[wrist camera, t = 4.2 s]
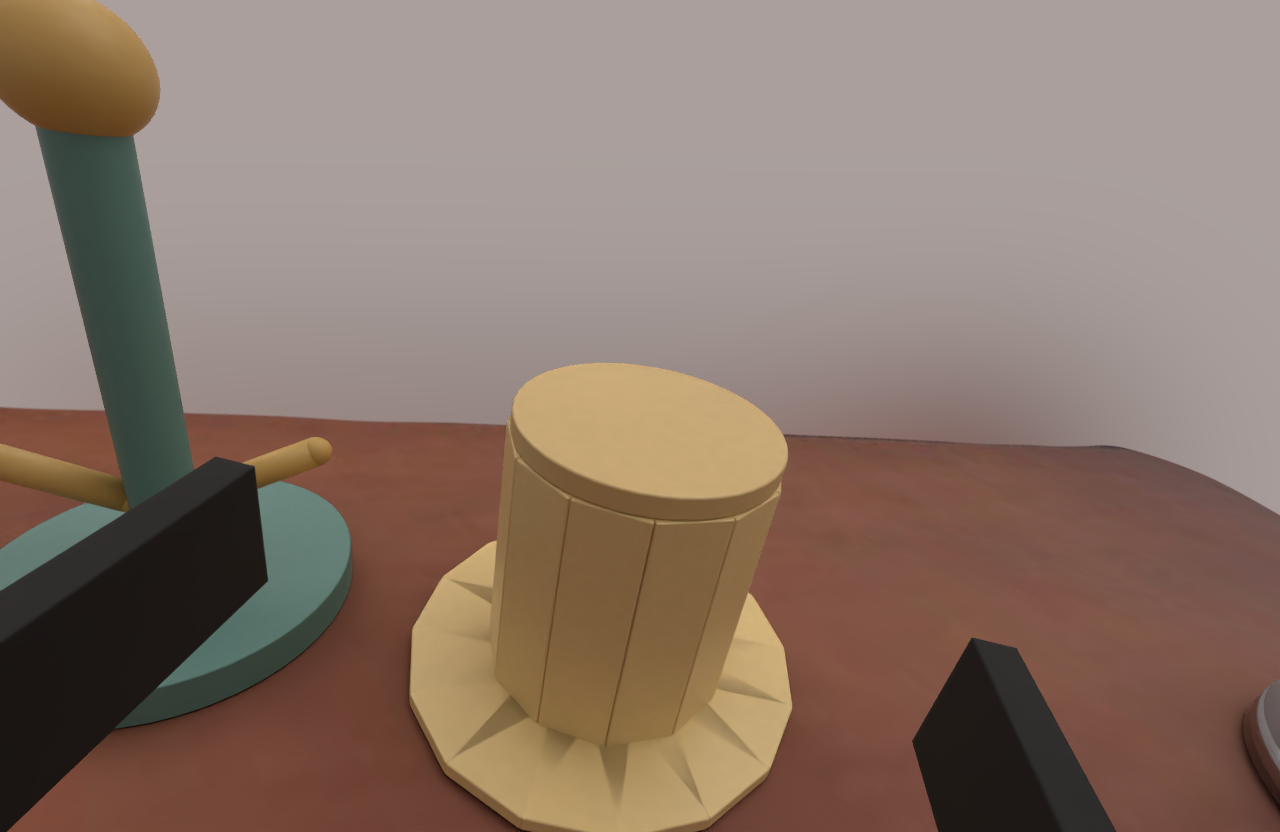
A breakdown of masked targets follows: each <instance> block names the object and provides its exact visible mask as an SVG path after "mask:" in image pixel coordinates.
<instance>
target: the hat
mask: <svg viewBox="0 0 1280 832" xmlns="http://www.w3.org/2000/svg"><path fill="white" fill-rule="evenodd" d="M787 460H788V449H787V444H786V441H785V438H784V436H783V434H782V433H781V431H780V430H779V428H778V427H777V426H776V425H775V423H774V422H773V421H772V420H771V419H770V418H769V417H768V416H767V415H766V414H765V413H763V412H762V411H761V410H759V409H758V408H757V407H756V406H754V405H752V404H751V403H750V402H748V401H746V400H745V399H743V398H741V397H740V396H738V395H736V394H734V393H732V392H730V391H728V390H726V389H723V388H721V387H719V386H717V385H714V384H712V383H709V382H707V381H704V380H701V379H698V378H695V377H692V376H689V375H685V374H682V373H678V372H674V371H670V370H665V369H661V368H655V367H649V366H642V365H634V364H622V363H589V364H579V365H572V366H567V367H562V368H558V369H554V370H551V371H548V372H545V373H543V374H540V375H538V376H536V377H535V378H533V379H531V380H530V381H528V382H527V383H526V384H524V385H523V386H522V388H521V389H520V390H519V391H518V392H517V394H516V396H515V398H514V400H513V405H512V411H511V416H510V417H509V418H508V421H507V426H506V438H505V450H504V462H503V474H502V486H501V497H500V509H499V521H498V533H497V540H496V541H493V542H490V543H488V544H486V545H485V546H484V547H482V548H481V549H480V550H478V551H477V552H476V553H474V554H473V555H471V556H470V557H469V558H467V559H466V560H465V561H463V562H462V563H461V564H459V565H458V566H457V567H455V568H454V569H452V570H451V571H450V572H448V573H447V574H446V575H444V576H443V577H442V579H441V580H440V582H439V584H438V585H437V587H436V589H435V591H434V592H433V594H432V596H431V597H430V599H429V601H428V603H427V604H426V606H425V608H424V609H423V611H422V613H421V615H420V616H419V618H418V620H417V621H416V623H415V625H414V626H413V629H412V641H411V667H410V693H409V702H410V706H411V708H412V710H413V712H414V714H415V716H416V718H417V720H418V722H419V724H420V726H421V728H422V730H423V732H424V734H425V736H426V738H427V740H428V742H429V744H430V746H431V748H432V750H433V752H434V754H435V756H436V758H437V760H438V762H439V764H440V766H441V768H442V770H443V771H444V773H445V774H446V775H447V776H448V777H450V778H451V779H452V780H454V781H455V782H457V783H458V784H459V785H461V786H462V787H463V788H465V789H466V790H467V791H469V792H470V793H471V794H473V795H474V796H475V797H477V798H478V799H480V800H481V801H482V802H484V803H485V804H486V805H488V806H489V807H490V808H492V809H493V810H494V811H496V812H497V813H498V814H500V815H501V816H503V817H504V818H505V819H507V820H508V821H509V822H511V823H512V824H513V825H515V826H516V827H517V828H520V829H522V830H526V831H531V832H696V831H700V830H704V829H706V828H708V827H710V826H711V825H712V824H713V823H714V822H715V821H717V820H718V819H719V818H720V817H721V816H723V815H724V814H725V813H726V812H727V811H728V810H730V809H731V808H732V807H733V806H734V805H736V804H737V803H738V802H739V801H740V800H741V799H743V798H744V797H745V796H746V795H747V794H749V793H750V792H751V791H752V790H753V789H754V788H756V787H757V786H758V785H759V784H760V783H762V782H763V781H764V780H765V779H766V778H767V776H768V773H769V771H770V769H771V766H772V763H773V761H774V758H775V755H776V752H777V750H778V747H779V744H780V741H781V739H782V736H783V733H784V730H785V728H786V725H787V722H788V719H789V717H790V714H791V711H792V700H791V693H790V687H789V680H788V673H787V666H786V659H785V652H784V648H783V645H782V643H781V642H780V640H779V638H778V637H777V635H776V634H775V632H774V630H773V629H772V627H771V625H770V624H769V622H768V620H767V619H766V617H765V615H764V614H763V612H762V611H761V609H760V607H759V606H758V604H757V602H756V601H755V599H754V598H753V596H752V595H751V594H749V593H748V591H749V588H750V585H751V582H752V579H753V576H754V573H755V570H756V567H757V564H758V561H759V558H760V555H761V552H762V549H763V546H764V543H765V540H766V537H767V534H768V531H769V528H770V525H771V522H772V519H773V516H774V513H775V510H776V507H777V504H778V501H779V498H780V495H781V480H782V477H783V474H784V471H785V468H786V465H787Z"/></svg>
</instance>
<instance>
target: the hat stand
mask: <svg viewBox="0 0 1280 832" xmlns="http://www.w3.org/2000/svg"><path fill="white" fill-rule="evenodd" d="M0 99H1V100H2V101H3V102H4V103H5V104H6V105H7V106H8V107H9V108H10V109H12V110H13V111H14V112H16V113H17V114H18V115H19V116H21V117H22V118H24V119H25V120H27V121H28V122H30V123H32V124H33V125H35V127H36V130H37V135H38V139H39V143H40V147H41V151H42V155H43V159H44V163H45V167H46V171H47V175H48V180H49V183H50V188H51V192H52V196H53V199H54V204H55V208H56V212H57V216H58V220H59V224H60V228H61V232H62V236H63V241H64V245H65V249H66V253H67V257H68V261H69V265H70V269H71V273H72V277H73V282H74V286H75V290H76V294H77V298H78V302H79V306H80V310H81V314H82V318H83V322H84V326H85V330H86V334H87V339H88V342H89V347H90V350H91V355H92V359H93V363H94V367H95V371H96V375H97V379H98V383H99V387H100V391H101V395H102V400H103V404H104V408H105V412H106V416H107V420H108V424H109V428H110V432H111V436H112V440H113V444H114V449H115V453H116V457H117V461H118V465H119V469H120V473H121V477H122V478H121V477H117V476H114V475H110V474H107V473H103V472H100V471H96V470H92V469H89V468H85V467H82V466H78V465H75V464H71V463H68V462H64V461H61V460H57V459H54V458H50V457H47V456H43V455H40V454H36V453H32V452H29V451H25V450H22V449H18V448H15V447H11V446H8V445H4V444H1V443H0V480H1V481H5V482H9V483H12V484H16V485H20V486H24V487H28V488H32V489H36V490H39V491H43V492H47V493H51V494H55V495H59V496H62V497H66V498H70V499H74V500H78V501H82V502H85V504H83V505H80V506H78V507H75V508H73V509H70V510H68V511H66V512H64V513H61V514H59V515H57V516H55V517H53V518H51V519H49V520H47V521H45V522H43V523H41V524H39V525H38V526H36V527H34V528H32V529H30V530H29V531H27V532H25V533H24V534H22V535H21V536H19V537H18V538H16V539H15V540H13V541H11V542H10V543H8V544H7V545H6V546H4V547H3V548H2V549H1V550H0V591H1V590H3V589H4V588H6V587H7V586H9V585H11V584H12V583H14V582H15V581H17V580H19V579H20V578H22V577H23V576H25V575H27V574H28V573H30V572H31V571H33V570H35V569H36V568H38V567H39V566H41V565H43V564H44V563H46V562H47V561H49V560H51V559H52V558H54V557H55V556H57V555H59V554H60V553H62V552H64V551H65V550H67V549H68V548H70V547H72V546H73V545H75V544H76V543H78V542H80V541H81V540H83V539H84V538H86V537H88V536H89V535H91V534H92V533H94V532H96V531H97V530H99V529H100V528H102V527H104V526H105V525H107V524H108V523H110V522H112V521H113V520H115V519H116V518H118V517H120V516H121V515H123V514H125V513H126V512H128V511H129V510H131V509H133V508H134V507H136V506H137V505H139V504H141V503H142V502H144V501H145V500H147V499H149V498H150V497H152V496H153V495H155V494H157V493H158V492H160V491H161V490H163V489H165V488H166V487H168V486H169V485H171V484H173V483H174V482H176V481H177V480H179V479H181V478H182V477H184V476H186V475H187V474H189V473H190V472H192V471H194V468H193V462H192V457H191V451H190V446H189V440H188V435H187V429H186V424H185V418H184V413H183V407H182V402H181V396H180V391H179V386H178V380H177V374H176V369H175V364H174V358H173V352H172V347H171V341H170V336H169V330H168V325H167V319H166V314H165V309H164V303H163V297H162V292H161V287H160V281H159V275H158V270H157V264H156V259H155V253H154V248H153V242H152V237H151V231H150V225H149V220H148V214H147V209H146V203H145V198H144V192H143V187H142V182H141V176H140V170H139V165H138V159H137V154H136V150H135V149H136V148H135V143H134V137H133V135H134V134H136V133H137V132H139V131H140V130H141V129H143V128H144V127H145V126H146V125H147V124H148V123H149V122H150V120H151V119H152V117H153V116H154V114H155V112H156V110H157V107H158V103H159V99H160V83H159V77H158V73H157V69H156V67H155V64H154V61H153V59H152V57H151V55H150V53H149V51H148V50H147V48H146V47H145V45H144V43H143V42H142V40H141V39H140V38H139V37H138V35H137V34H136V33H135V32H134V31H133V30H132V29H131V28H130V26H128V24H127V23H126V22H124V21H123V20H122V19H121V18H120V17H118V16H117V15H116V14H115V13H114V12H112V11H111V10H109V9H108V8H107V7H105V6H104V5H102V4H100V3H99V2H97V1H95V0H0ZM331 455H332V448H331V445H330V444H329V443H328V442H327V441H326V440H325V439H323V438H319V437H312V438H309V439H306V440H303V441H300V442H298V443H295V444H292V445H289V446H287V447H284V448H281V449H279V450H276V451H273V452H270V453H268V454H265V455H262V456H259V457H257V458H254V459H251V460H248V461H246V462H243V464H248V465H252V466H255V473H256V481H257V490H258V498H259V507H260V515H261V523H262V532H263V540H264V549H265V557H266V566H267V574H268V582H267V583H266V584H265V585H263V586H262V587H261V588H260V589H259V590H258V591H257V592H256V593H255V594H254V595H253V596H252V597H251V598H250V599H249V600H248V601H247V602H246V603H245V604H244V605H243V606H242V607H241V608H239V609H238V610H237V611H236V612H235V613H234V614H233V615H232V616H231V617H230V618H229V619H228V620H227V621H226V622H225V623H224V624H223V625H222V626H221V627H220V628H219V629H218V630H217V631H215V632H214V633H213V634H212V635H211V636H210V637H209V638H208V639H207V640H206V641H205V642H204V643H203V644H202V645H201V646H200V647H199V648H198V649H197V650H196V651H195V652H194V653H193V654H191V655H190V656H189V657H188V658H187V659H186V660H185V661H184V662H183V663H182V664H181V665H180V666H179V667H178V668H177V669H176V670H175V671H174V672H173V673H172V674H171V675H170V676H169V677H167V678H166V679H165V680H164V681H163V682H162V683H161V684H160V685H159V686H158V687H157V688H156V689H155V690H154V691H153V692H152V693H151V694H150V695H149V696H148V697H147V698H146V699H145V700H143V701H142V702H141V703H140V704H139V705H138V706H137V707H136V708H135V709H134V710H133V711H132V712H131V713H130V714H129V715H128V716H127V717H126V718H125V719H124V720H123V721H122V722H121V723H119V724H118V725H117V726H116V727H115V728H114V729H116V728H123V727H129V726H135V725H141V724H147V723H152V722H156V721H160V720H164V719H168V718H172V717H175V716H179V715H182V714H185V713H188V712H191V711H194V710H197V709H200V708H203V707H206V706H209V705H211V704H214V703H216V702H218V701H221V700H223V699H225V698H228V697H230V696H232V695H235V694H237V693H239V692H241V691H243V690H245V689H247V688H249V687H250V686H252V685H254V684H256V683H258V682H260V681H262V680H263V679H265V678H267V677H268V676H270V675H271V674H273V673H274V672H276V671H278V670H279V669H281V668H282V667H284V666H285V665H287V664H288V663H289V662H291V661H292V660H293V659H294V658H296V657H297V656H298V655H300V654H301V653H302V652H304V651H305V650H306V649H307V648H308V647H309V646H310V645H311V644H312V643H313V642H314V641H315V640H316V639H317V638H318V637H319V636H320V635H321V634H322V633H323V632H324V631H325V629H326V628H327V627H328V626H329V625H330V624H331V622H332V621H333V620H334V618H335V616H336V615H337V613H338V612H339V610H340V609H341V607H342V605H343V603H344V601H345V599H346V597H347V594H348V592H349V588H350V584H351V580H352V550H351V539H350V533H349V529H348V527H347V525H346V522H345V520H344V519H343V517H342V516H341V515H340V513H339V512H338V511H337V510H336V509H335V508H334V507H333V506H332V505H331V504H330V503H329V502H328V501H326V500H325V499H323V498H322V497H320V496H319V495H317V494H315V493H313V492H311V491H309V490H307V489H304V488H301V487H298V486H295V485H293V484H289V483H285V482H281V480H283V479H286V478H289V477H291V476H294V475H297V474H300V473H302V472H305V471H308V470H310V469H313V468H316V467H318V466H321V465H323V464H325V463H326V462H327V461H328V460H329V459H330V457H331Z"/></svg>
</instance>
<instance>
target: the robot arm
mask: <svg viewBox="0 0 1280 832" xmlns="http://www.w3.org/2000/svg"><path fill="white" fill-rule="evenodd" d="M267 582H268V574H267V566H266V557H265V549H264V540H263V532H262V523H261V515H260V507H259V498H258V490H257V481H256V473H255V466H252V465H248V464H243V463H239V462H235V461H231V460H227V459H223V458H218V457H214V458H213V459H211V460H210V461H208V462H206V463H205V464H203V465H202V466H200V467H198V468H197V469H195V470H194V471H192V472H190V473H189V474H187V475H186V476H184V477H182V478H181V479H179V480H177V481H176V482H174V483H173V484H171V485H169V486H168V487H166V488H165V489H163V490H161V491H160V492H158V493H157V494H155V495H153V496H152V497H150V498H149V499H147V500H145V501H144V502H142V503H141V504H139V505H137V506H136V507H134V508H133V509H131V510H129V511H128V512H126V513H125V514H123V515H121V516H120V517H118V518H116V519H115V520H113V521H112V522H110V523H108V524H107V525H105V526H104V527H102V528H100V529H99V530H97V531H96V532H94V533H92V534H91V535H89V536H88V537H86V538H84V539H83V540H81V541H80V542H78V543H76V544H75V545H73V546H72V547H70V548H68V549H67V550H65V551H64V552H62V553H60V554H59V555H57V556H55V557H54V558H52V559H51V560H49V561H47V562H46V563H44V564H43V565H41V566H39V567H38V568H36V569H35V570H33V571H31V572H30V573H28V574H27V575H25V576H23V577H22V578H20V579H19V580H17V581H15V582H14V583H12V584H11V585H9V586H7V587H6V588H4V589H3V590H1V591H0V832H7V831H8V830H9V829H10V828H11V827H12V826H13V825H14V824H15V823H16V822H17V821H18V820H19V819H20V818H21V817H22V816H24V815H25V814H26V813H27V812H28V811H29V810H30V809H31V808H32V807H33V806H34V805H35V804H36V803H37V802H38V801H39V800H40V799H41V798H42V797H43V796H44V795H45V794H46V793H47V792H49V791H50V790H51V789H52V788H53V787H54V786H55V785H56V784H57V783H58V782H59V781H60V780H61V779H62V778H63V777H64V776H65V775H66V774H67V773H68V772H69V771H70V770H71V769H73V768H74V767H75V766H76V765H77V764H78V763H79V762H80V761H81V760H82V759H83V758H84V757H85V756H86V755H87V754H88V753H89V752H90V751H91V750H92V749H93V748H94V747H95V746H97V745H98V744H99V743H100V742H101V741H102V740H103V739H104V738H105V737H106V736H107V735H108V734H109V733H110V732H111V731H112V730H113V729H114V728H115V727H116V726H117V725H118V724H119V723H121V722H122V721H123V720H124V719H125V718H126V717H127V716H128V715H129V714H130V713H131V712H132V711H133V710H134V709H135V708H136V707H137V706H138V705H139V704H140V703H141V702H142V701H143V700H145V699H146V698H147V697H148V696H149V695H150V694H151V693H152V692H153V691H154V690H155V689H156V688H157V687H158V686H159V685H160V684H161V683H162V682H163V681H164V680H165V679H166V678H167V677H169V676H170V675H171V674H172V673H173V672H174V671H175V670H176V669H177V668H178V667H179V666H180V665H181V664H182V663H183V662H184V661H185V660H186V659H187V658H188V657H189V656H190V655H191V654H193V653H194V652H195V651H196V650H197V649H198V648H199V647H200V646H201V645H202V644H203V643H204V642H205V641H206V640H207V639H208V638H209V637H210V636H211V635H212V634H213V633H214V632H215V631H217V630H218V629H219V628H220V627H221V626H222V625H223V624H224V623H225V622H226V621H227V620H228V619H229V618H230V617H231V616H232V615H233V614H234V613H235V612H236V611H237V610H238V609H239V608H241V607H242V606H243V605H244V604H245V603H246V602H247V601H248V600H249V599H250V598H251V597H252V596H253V595H254V594H255V593H256V592H257V591H258V590H259V589H260V588H261V587H262V586H263V585H265V584H266V583H267ZM1243 734H1244V739H1245V743H1246V747H1247V749H1248V752H1249V754H1250V757H1251V759H1252V761H1253V763H1254V765H1255V767H1256V769H1257V771H1258V773H1259V775H1260V776H1261V778H1262V780H1263V781H1264V783H1265V785H1266V786H1267V788H1268V789H1269V791H1270V792H1271V794H1272V795H1273V797H1274V798H1275V799H1276V801H1277V802H1278V804H1279V805H1280V678H1279V679H1278V680H1276V681H1275V682H1273V683H1271V684H1270V685H1269V686H1268V687H1267V688H1266V689H1265V690H1264V692H1263V693H1262V694H1261V695H1260V696H1259V697H1258V698H1257V699H1256V700H1255V701H1254V702H1253V704H1252V705H1251V706H1250V707H1249V708H1248V709H1247V711H1246V713H1245V715H1244V720H1243ZM912 742H913V746H914V749H915V753H916V756H917V759H918V763H919V766H920V770H921V773H922V777H923V780H924V784H925V787H926V791H927V794H928V797H929V801H930V804H931V808H932V811H933V815H934V818H935V822H936V825H937V829H938V832H1116V830H1115V829H1114V827H1113V825H1112V823H1111V821H1110V819H1109V818H1108V816H1107V814H1106V812H1105V810H1104V808H1103V806H1102V805H1101V803H1100V801H1099V799H1098V797H1097V795H1096V794H1095V792H1094V790H1093V788H1092V786H1091V784H1090V783H1089V781H1088V779H1087V777H1086V775H1085V773H1084V772H1083V770H1082V768H1081V766H1080V764H1079V762H1078V760H1077V759H1076V757H1075V755H1074V753H1073V751H1072V749H1071V748H1070V746H1069V744H1068V742H1067V740H1066V738H1065V737H1064V735H1063V733H1062V731H1061V729H1060V727H1059V726H1058V724H1057V722H1056V720H1055V718H1054V716H1053V714H1052V713H1051V711H1050V709H1049V707H1048V705H1047V703H1046V702H1045V700H1044V698H1043V696H1042V694H1041V692H1040V691H1039V689H1038V687H1037V685H1036V683H1035V681H1034V680H1033V678H1032V676H1031V674H1030V672H1029V670H1028V668H1027V667H1026V665H1025V663H1024V661H1023V659H1022V657H1021V656H1020V654H1019V652H1018V650H1017V648H1013V647H1009V646H1005V645H1001V644H997V643H992V642H988V641H984V640H980V639H976V638H971V640H970V642H969V643H968V645H967V647H966V649H965V650H964V652H963V654H962V656H961V657H960V659H959V661H958V662H957V664H956V666H955V668H954V669H953V671H952V673H951V675H950V676H949V678H948V680H947V682H946V683H945V685H944V687H943V689H942V690H941V692H940V694H939V695H938V697H937V699H936V701H935V702H934V704H933V706H932V708H931V709H930V711H929V713H928V715H927V716H926V718H925V720H924V722H923V723H922V725H921V727H920V728H919V730H918V732H917V734H916V735H915V737H914V739H913V741H912Z"/></svg>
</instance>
